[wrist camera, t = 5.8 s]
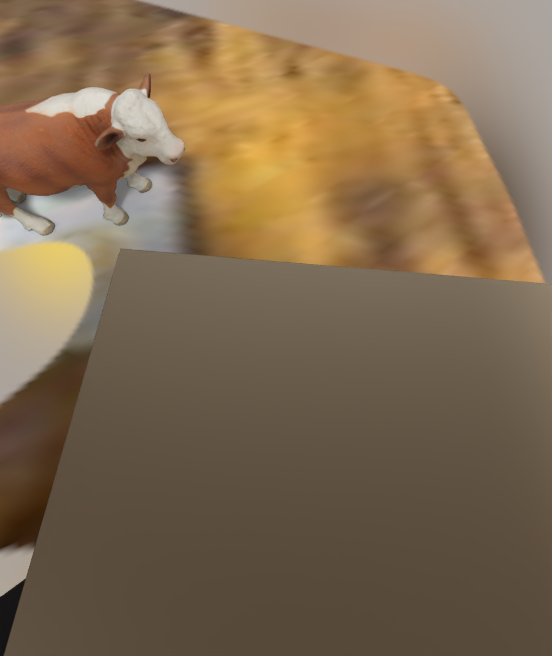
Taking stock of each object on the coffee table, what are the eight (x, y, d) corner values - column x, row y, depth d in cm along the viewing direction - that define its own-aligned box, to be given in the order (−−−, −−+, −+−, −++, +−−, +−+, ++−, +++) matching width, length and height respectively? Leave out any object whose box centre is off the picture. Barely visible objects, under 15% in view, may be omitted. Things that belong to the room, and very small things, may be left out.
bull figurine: (205, 237, 27) (169, 127, 19) (-23, 241, 27) (-147, 136, 19) (209, 175, 28) (177, 51, 21) (-6, 181, 29) (-114, 62, 21)
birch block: (387, 635, 13) (1184, 1621, 1) (237, 613, 14) (-168, 1250, 2) (390, 476, 15) (765, 302, 3) (256, 461, 15) (120, 249, 3)
